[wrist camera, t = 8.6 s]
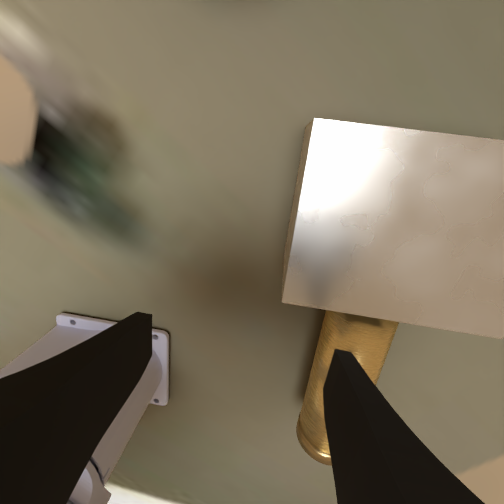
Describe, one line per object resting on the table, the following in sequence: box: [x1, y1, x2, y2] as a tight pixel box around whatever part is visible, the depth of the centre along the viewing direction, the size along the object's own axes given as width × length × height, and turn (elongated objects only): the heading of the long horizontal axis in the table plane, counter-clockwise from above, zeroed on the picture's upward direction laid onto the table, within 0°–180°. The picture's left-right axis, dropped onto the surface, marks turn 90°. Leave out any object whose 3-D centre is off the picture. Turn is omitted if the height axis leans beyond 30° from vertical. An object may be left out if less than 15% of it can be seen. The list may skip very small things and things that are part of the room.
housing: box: [282, 118, 504, 339], centre depth 15 cm, size 10×8×6 cm
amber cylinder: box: [296, 310, 399, 465], centre depth 19 cm, size 4×11×4 cm, turn 173°
